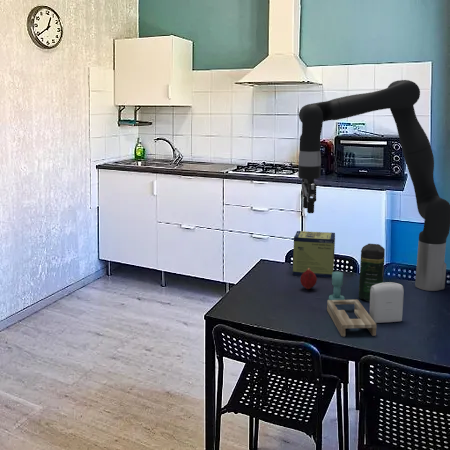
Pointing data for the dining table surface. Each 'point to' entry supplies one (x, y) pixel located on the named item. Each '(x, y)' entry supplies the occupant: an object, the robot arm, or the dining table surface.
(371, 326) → the keyhole plate
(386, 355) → the dining table surface
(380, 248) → the coffee jar
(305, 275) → the red pomegranate
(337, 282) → the peg
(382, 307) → the photo printer
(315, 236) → the protein box
